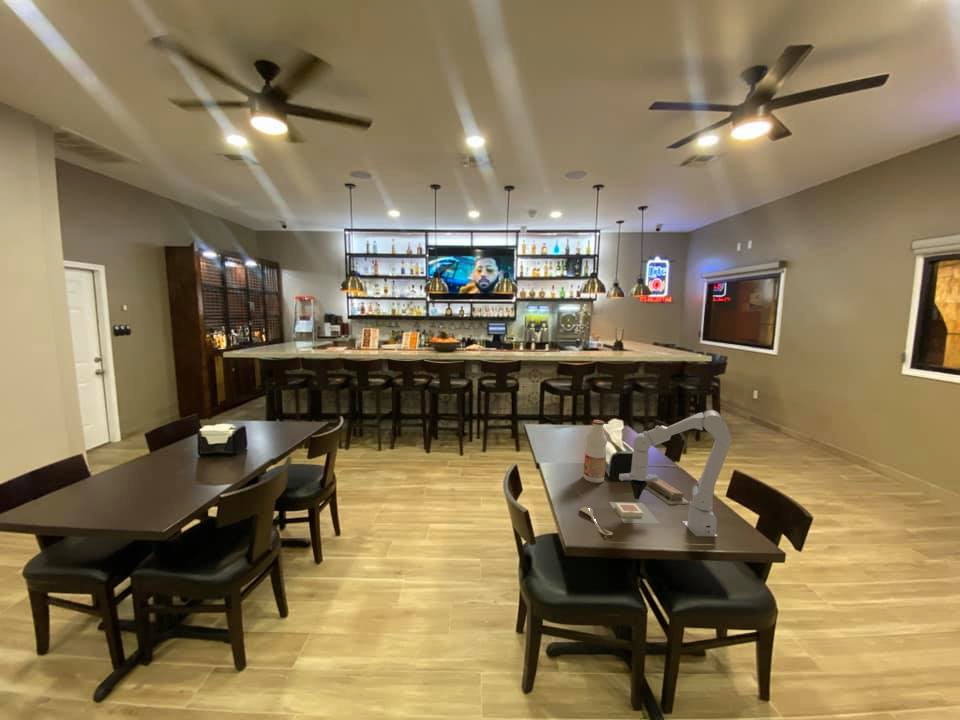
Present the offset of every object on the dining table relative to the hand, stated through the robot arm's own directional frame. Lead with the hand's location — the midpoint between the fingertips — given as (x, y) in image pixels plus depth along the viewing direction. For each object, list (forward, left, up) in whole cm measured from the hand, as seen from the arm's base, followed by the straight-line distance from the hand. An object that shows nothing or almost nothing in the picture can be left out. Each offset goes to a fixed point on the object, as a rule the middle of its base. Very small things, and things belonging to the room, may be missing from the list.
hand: (636, 497), depth 154 cm
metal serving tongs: (-8, +18, -7) cm, 21 cm away
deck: (0, -2, -5) cm, 5 cm away
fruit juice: (+31, +6, -7) cm, 32 cm away
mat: (0, 0, -6) cm, 6 cm away
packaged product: (+17, -20, -7) cm, 27 cm away
